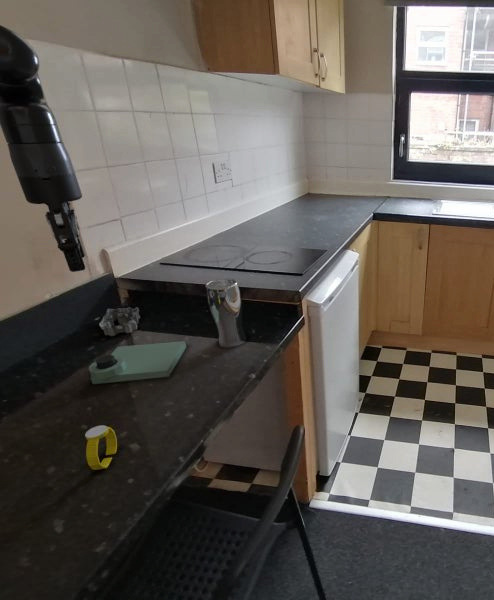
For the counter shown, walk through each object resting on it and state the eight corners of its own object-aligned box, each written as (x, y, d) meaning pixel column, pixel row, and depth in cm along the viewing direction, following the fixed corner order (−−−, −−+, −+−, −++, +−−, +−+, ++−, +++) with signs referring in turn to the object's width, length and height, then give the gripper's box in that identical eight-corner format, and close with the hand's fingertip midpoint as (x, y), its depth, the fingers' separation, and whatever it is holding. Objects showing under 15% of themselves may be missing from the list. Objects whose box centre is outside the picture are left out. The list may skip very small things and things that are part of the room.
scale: (88, 388, 79) (82, 373, 77) (118, 354, 91) (113, 340, 89) (167, 380, 81) (163, 366, 80) (186, 348, 93) (183, 334, 91)
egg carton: (136, 333, 99) (132, 319, 97) (100, 339, 97) (95, 324, 95) (143, 315, 108) (139, 301, 106) (111, 320, 106) (106, 306, 104)
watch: (109, 475, 60) (97, 445, 57) (88, 478, 59) (74, 448, 57) (125, 446, 65) (114, 417, 63) (106, 449, 64) (94, 419, 62)
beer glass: (210, 347, 93) (197, 287, 87) (230, 333, 99) (219, 276, 93) (235, 351, 91) (223, 291, 85) (254, 337, 98) (244, 279, 91)
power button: (95, 370, 79) (92, 363, 79) (102, 362, 82) (100, 355, 81) (112, 368, 80) (109, 362, 79) (118, 360, 82) (116, 354, 82)
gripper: (21, 169, 70) (53, 258, 77) (11, 178, 60) (50, 280, 66) (74, 166, 74) (101, 251, 81) (73, 174, 64) (104, 270, 70)
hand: (78, 264), depth 74 cm, fingers open, 8 cm apart
